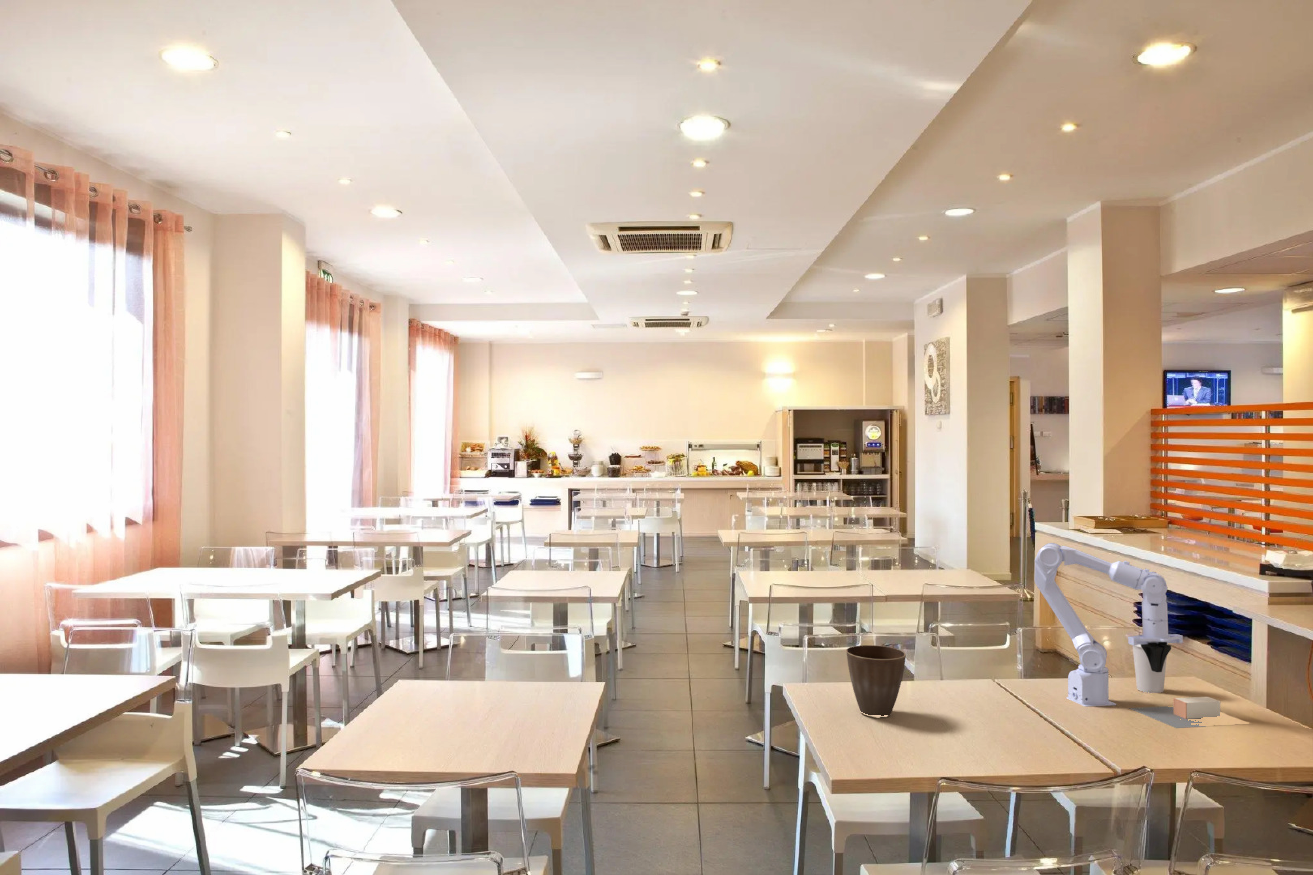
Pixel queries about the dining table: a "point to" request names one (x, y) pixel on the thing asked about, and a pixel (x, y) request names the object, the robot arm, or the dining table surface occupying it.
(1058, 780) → the dining table surface
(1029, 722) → the dining table surface
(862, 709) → the plant pot
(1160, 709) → the mat
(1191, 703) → the block
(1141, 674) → the coffee cup
